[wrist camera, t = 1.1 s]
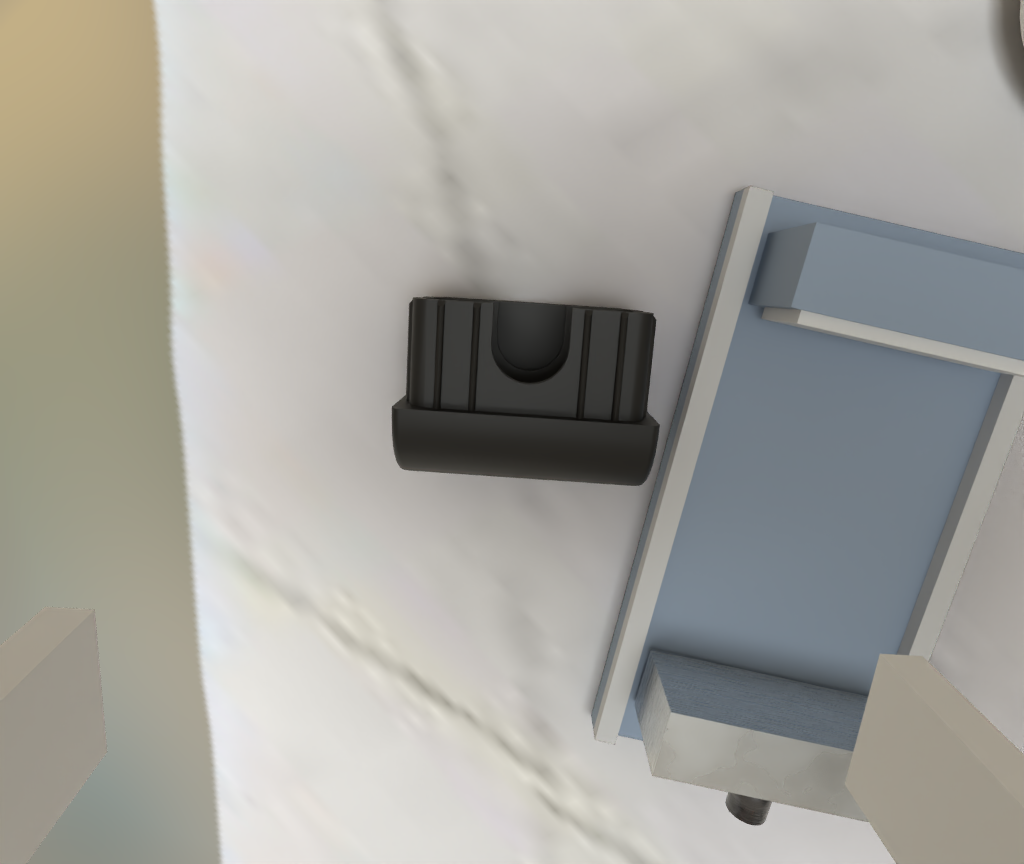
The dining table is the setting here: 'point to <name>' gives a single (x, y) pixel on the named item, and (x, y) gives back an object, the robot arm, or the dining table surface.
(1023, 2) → the flower in vase
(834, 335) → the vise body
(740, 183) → the dining table surface
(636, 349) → the end cap
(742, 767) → the block
